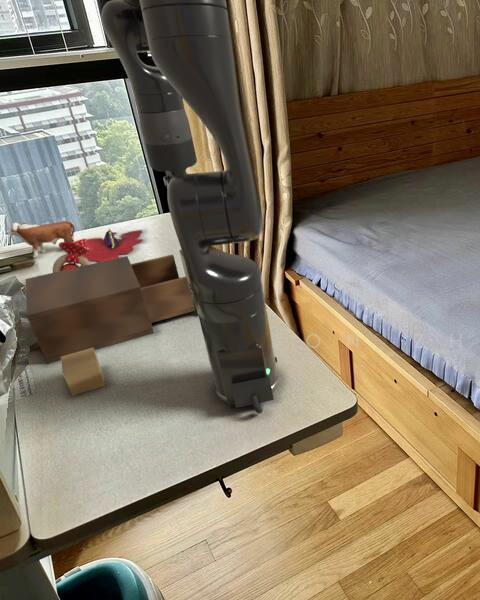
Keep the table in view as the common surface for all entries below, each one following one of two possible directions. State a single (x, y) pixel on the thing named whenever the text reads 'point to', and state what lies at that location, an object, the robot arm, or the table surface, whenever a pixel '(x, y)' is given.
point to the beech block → (82, 371)
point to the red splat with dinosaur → (111, 246)
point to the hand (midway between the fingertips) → (190, 234)
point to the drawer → (164, 287)
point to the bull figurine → (43, 234)
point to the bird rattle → (72, 255)
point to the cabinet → (86, 308)
